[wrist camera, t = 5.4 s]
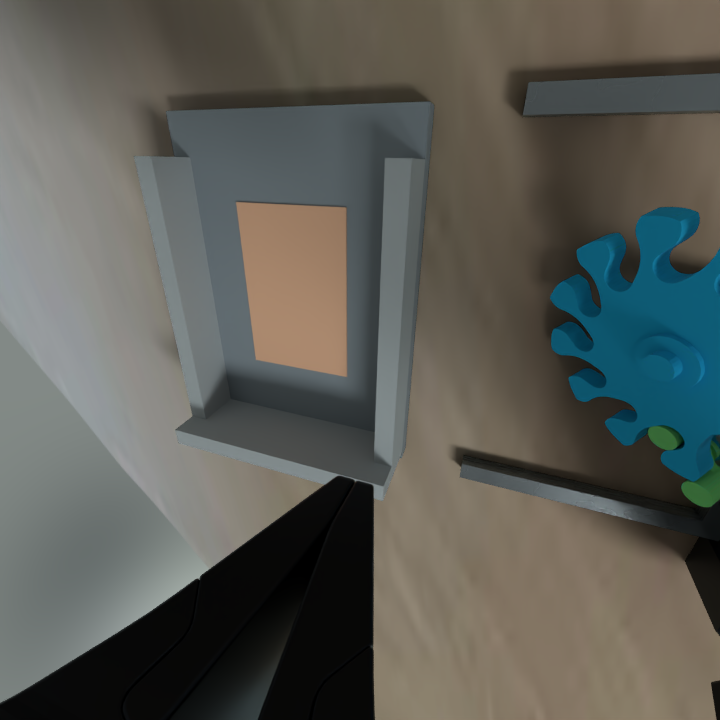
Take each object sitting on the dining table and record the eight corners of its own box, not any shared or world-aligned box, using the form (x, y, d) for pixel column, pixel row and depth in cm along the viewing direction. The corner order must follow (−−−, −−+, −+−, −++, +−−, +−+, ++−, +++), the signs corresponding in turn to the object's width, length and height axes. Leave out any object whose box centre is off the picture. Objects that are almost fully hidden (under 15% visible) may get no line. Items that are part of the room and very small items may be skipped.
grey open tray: (434, 104, 16) (405, 82, 12) (405, 448, 24) (382, 507, 20) (180, 113, 20) (89, 98, 15) (230, 406, 28) (180, 449, 24)
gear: (517, 237, 16) (934, 179, 7) (617, 193, 17) (1067, 97, 8) (562, 453, 19) (877, 606, 10) (642, 400, 21) (978, 493, 12)
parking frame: (1001, 65, 11) (1033, 58, 10) (711, 528, 19) (718, 541, 19) (528, 86, 14) (528, 82, 14) (461, 467, 23) (459, 477, 22)
